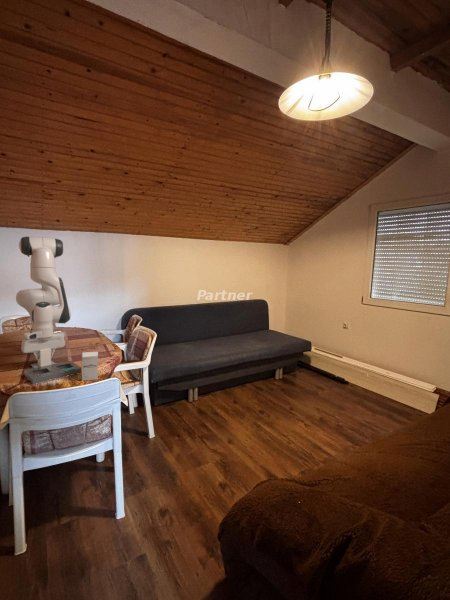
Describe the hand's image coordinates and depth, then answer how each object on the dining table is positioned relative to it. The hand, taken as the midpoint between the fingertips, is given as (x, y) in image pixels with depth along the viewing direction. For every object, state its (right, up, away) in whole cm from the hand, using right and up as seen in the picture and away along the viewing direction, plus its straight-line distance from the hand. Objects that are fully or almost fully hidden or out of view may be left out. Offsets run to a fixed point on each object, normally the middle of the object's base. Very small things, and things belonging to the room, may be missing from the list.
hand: (44, 357), depth 161 cm
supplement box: (+29, -9, -10) cm, 32 cm away
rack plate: (+10, -7, -9) cm, 15 cm away
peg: (0, -4, +1) cm, 4 cm away
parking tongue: (0, -5, +1) cm, 5 cm away
